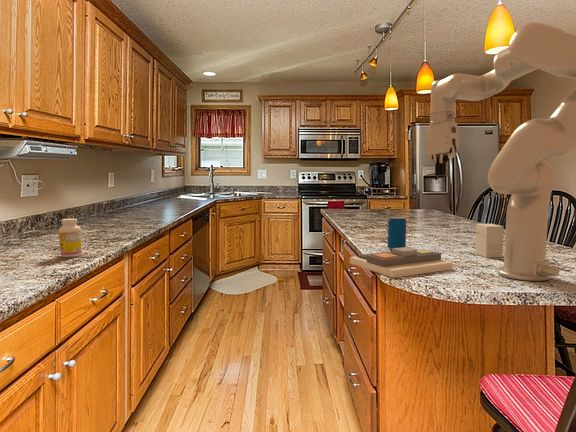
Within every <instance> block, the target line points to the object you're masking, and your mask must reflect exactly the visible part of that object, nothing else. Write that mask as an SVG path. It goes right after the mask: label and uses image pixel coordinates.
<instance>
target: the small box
mask: <svg viewBox="0 0 576 432" xmlns="http://www.w3.org/2000/svg"><path fill="white" fill-rule="evenodd" d="M475 226H476V227H475V254H476V255H479V256H482V257H484V258H486V259H487V258H488V259H489V258H503V257H504V253H503V251H504V230H505V229H504V228H505V227H504V225H499V224H496V223H495V224H494V223H476V225H475Z"/></svg>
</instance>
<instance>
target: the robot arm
mask: <svg viewBox="0 0 576 432" xmlns="http://www.w3.org/2000/svg"><path fill="white" fill-rule="evenodd" d="M509 40H510V41H509V44H508V47H506V48H505V49H502V50H501V51H499V52H498V53H496V55H495V56H494V58H493V62H492V63H493V69H492V70H491V71H488V72H486V73H483V74H482V75H474V74H467V73H460V72H458V73H452V74H450V75H448V76H447V77H445V78H443V79H437V80H435V81H433V82H432V83H431V85H430V112H429V114H430V115H429V125H428V129H427V134H426V142H425V143H426V144H425V145H426V147H425V149H426V154H427V159H431V160H432V161H433V164H435V165H434V166H435V169H434V175H435V177H436V176H437V177H441V176H442V177H445V176H447V173H446V172H447V164H448V163H449V161H450V159H453V158H454V157H456V154H457V153H458V152H459V149H460V146H459V145H460V142H459V141H460V139H459V138H460V136H459V129H458V123H457V122H455V118H457V113H456V100H460V101H469V102H470V101H471V102H478V101H482V100H485V99H488V98H490V97H492V96H495V95H497V94H499V93H500V92H502V91H503V90H505V89H506V88H507V87H508V86H509V85H510V83H511V82H512V81H514V80H517V79H519V78H521V77H523V76H525V75H527V74H530V73H531V72H534V71H537V70H541V71H543V72H546V73H548V74H551V75H553V76H556V77H561V78H565V79H566V78H567V79H571V80H576V34H573V33H568V32H566V31H564V30H563V29H561V28H559V27H555V26H552V25H549V24H543V23H541V22H540V23H539V22H530V23H527V24H525V25H522V26H521V27H519V28H518V29H517V30H516V31H514V33H513V34H512V36H511V38H510V39H509ZM575 148H576V87H575V88H574V89H573V90H572V91H570V92H569V93H568V94H566V96H565V97H564V98H563V99H562V100H561V102H560V103H559V105H558V106H557V108H556V109H555V110H554V112H552V114H551V115H550V116H549V117H548V118H532V119H530V120H529V119H528V120H527V121H525V122H523V123H521V124H520V125H519V126H518V127H517V128H516V129H515V130H514V131H513V132H512V134H511V135H510V136H509V138H508V139H507V141H506V143H505V144H504V145H503V147H502V148H501V150H500V151H499V152H498V154H497V156H496V157H495V158H494V160H493V161H492V164H491V165H490V166H489V169H488V173H487V183H488V185H489V187H490V189H491V190H492V191H494V192H495V193H498V194H501V195H511V196H510V198H509V200H508V202H507V208H506V217H505V218H506V219H505V233H504V234H505V237H504V239H505V241H504V254H503V257H504V259H503V266H499V267H498V268H497V269H496V270H497V271H496V272H497V274H498V275H500V276H503V277H505V278H509V279H515V280H521V281H528V282H529V281H533V282H535V281H536V282H539V281H540V282H541V281H543V282H544V281H549V280H551V279H552V277H555V278H557V277H559V274H560V268H558V267H553V266H552V267H551V266H550V263H551V261H549V260H546V256H547V253H546V252H547V239H548V238H547V237H548V223H549V222H548V221H549V220H548V219H549V210H550V202H551V201H550V200H551V195H552V191H553V188H554V184H555V171H554V168H553V166H552V165H551V164H550V163H549V162H548V161H546V160H558V159H563V158H566V157H567V156H568V155H570V154H571V153H572V152H573V151H574V149H575Z"/></svg>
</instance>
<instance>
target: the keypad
mask: <svg viewBox="0 0 576 432" xmlns="http://www.w3.org/2000/svg"><path fill="white" fill-rule="evenodd" d="M434 252H435V253H431V254H423V255H422V254H417V255H414V256H406V257H402V256H399V255H397V256H398V257H397V258H389V259H382V258H378V257H375V256H373V254H382V253H389V254H392V250H390V251H384V252H375V253H374V252H373V253H364V254H357V255H355V256H350V257H349V264H351V265H353V266H356V267H360V268H362V269H365V270H368V271H371V272H374V273H378V274H380V275H384V276H387V277H389V278H391V279H393V278H400V277H407V276H414V275H415V276H416V275H423V274H429V273H436V271H437V272H442V271H443V272H444V271H449V270H453V266H454V265H453V264H454V263H453V261H447V260H443V259H442V252H439V251H434ZM393 255H395V254H393Z"/></svg>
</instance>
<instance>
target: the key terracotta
mask: <svg viewBox="0 0 576 432" xmlns="http://www.w3.org/2000/svg"><path fill="white" fill-rule="evenodd" d="M373 256H375V257H378V258H382V259H389V258H397V257H398V256H397V255H393V254H389V253H382V254H373Z"/></svg>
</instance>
